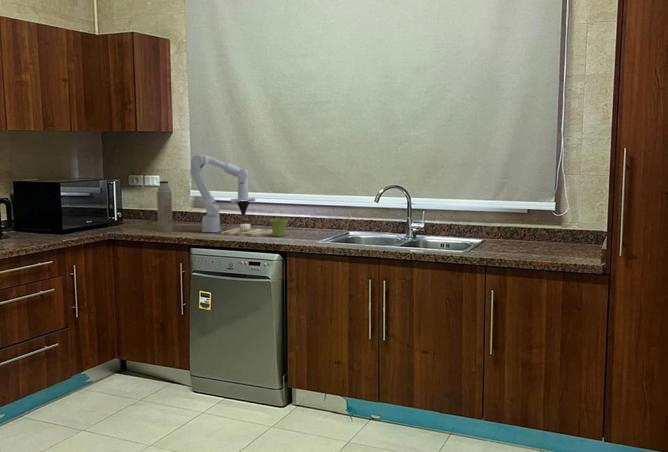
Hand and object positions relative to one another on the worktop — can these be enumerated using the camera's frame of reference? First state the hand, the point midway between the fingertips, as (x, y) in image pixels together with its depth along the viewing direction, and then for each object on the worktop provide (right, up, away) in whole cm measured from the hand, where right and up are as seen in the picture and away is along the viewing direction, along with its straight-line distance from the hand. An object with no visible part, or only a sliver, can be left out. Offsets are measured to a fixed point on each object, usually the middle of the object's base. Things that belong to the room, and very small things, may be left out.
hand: (243, 214), depth 378 cm
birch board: (+3, -10, -8) cm, 13 cm away
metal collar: (+2, -9, -7) cm, 12 cm away
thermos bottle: (-45, -9, +6) cm, 47 cm away
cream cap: (+2, -9, -10) cm, 13 cm away
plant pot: (+21, -12, -16) cm, 29 cm away
